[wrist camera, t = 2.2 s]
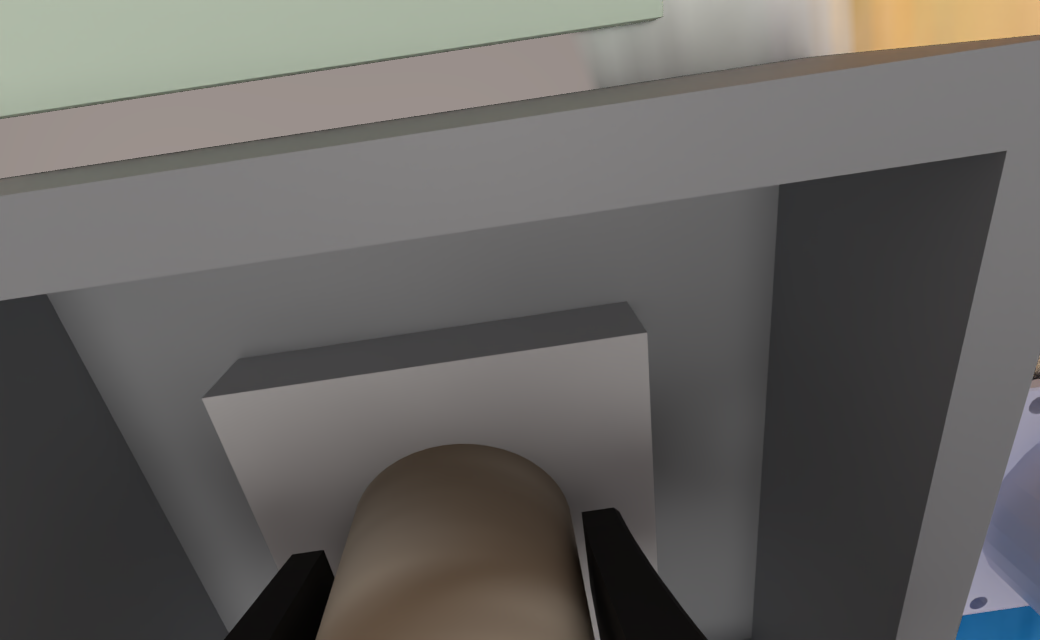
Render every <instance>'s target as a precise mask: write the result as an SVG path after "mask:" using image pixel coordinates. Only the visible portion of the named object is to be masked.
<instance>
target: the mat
mask: <svg viewBox="0 0 1040 640" xmlns="http://www.w3.org/2000/svg"><path fill="white" fill-rule="evenodd" d="M661 17H663V0H0V119H2V118H10V117H17V116H24V115H30V114H37V113H43V112H50V111H57V110H63V109H70V108H77V107H83V106H89V105H97V104H103V103H110V102H116V101H123V100H129V99H136V98H142V97H150V96H156V95H163V94H169V93H176V92H183V91H189V90H195V89H202V88H209V87H216V86H223V85H229V84H236V83H242V82H249V81H255V80H262V79H268V78H276V77H282V76H289V75H295V74H301V73H309V72H315V71H322V70H329V69H335V68H341V67H348V66H355V65H361V64H368V63H375V62H381V61H388V60H395V59H402V58H408V57H415V56H422V55H428V54H435V53H441V52H448V51H455V50H461V49H468V48H474V47H481V46H488V45H494V44H501V43H508V42H514V41H520V40H528V39H534V38H541V37H548V36H554V35H561V34H568V33H574V32H581V31H587V30H594V29H601V28H607V27H614V26H621V25H627V24H634V23H641V22H647V21H653V20H656V19H658V18H661Z"/></svg>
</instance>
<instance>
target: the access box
mask: <svg viewBox="0 0 1040 640" xmlns="http://www.w3.org/2000/svg"><path fill="white" fill-rule="evenodd" d="M1039 355H1040V35H1033V36H1022V37H1012V38H1002V39H991V40H981V41H970V42H960V43H950V44H939V45H929V46H919V47H908V48H898V49H887V50H877V51H867V52H856V53H846V54H835V55H825V56H815V57H807V58H800V59H794V60H787V61H780V62H774V63H767V64H760V65H754V66H747V67H740V68H734V69H727V70H720V71H714V72H707V73H700V74H694V75H687V76H680V77H674V78H667V79H661V80H654V81H647V82H641V83H634V84H627V85H621V86H614V87H607V88H601V89H594V90H588V91H581V92H574V93H567V94H561V95H554V96H547V97H541V98H534V99H527V100H521V101H515V102H508V103H501V104H494V105H488V106H481V107H474V108H467V109H461V110H454V111H447V112H441V113H435V114H428V115H421V116H414V117H408V118H401V119H394V120H388V121H381V122H374V123H369V124H361V125H354V126H348V127H341V128H334V129H328V130H321V131H314V132H308V133H301V134H295V135H288V136H281V137H274V138H268V139H261V140H254V141H248V142H242V143H234V144H228V145H221V146H214V147H208V148H201V149H195V150H188V151H181V152H175V153H168V154H161V155H154V156H148V157H141V158H135V159H128V160H121V161H115V162H108V163H102V164H95V165H88V166H81V167H75V168H68V169H62V170H55V171H48V172H41V173H35V174H29V175H21V176H15V177H9V178H2V179H0V640H224V639H225V638H226V636H227V635H228V634H229V633H230V631H231V630H232V629H233V628H234V626H235V625H236V624H237V623H238V621H239V620H240V619H241V618H242V616H243V615H244V614H245V613H246V611H247V610H248V609H249V608H250V606H251V605H252V604H253V603H254V601H255V600H256V599H257V598H258V596H259V595H260V594H261V593H262V591H263V590H264V589H265V588H266V586H267V585H268V584H269V583H270V581H271V580H272V579H273V578H274V576H275V575H276V574H277V573H278V571H279V570H280V569H281V568H282V566H283V565H284V564H285V563H286V561H287V560H288V559H289V558H290V557H291V555H292V554H298V553H305V552H312V551H319V550H324V552H325V554H326V557H327V559H328V562H329V564H330V567H331V570H332V572H333V575H334V577H335V576H336V572H337V569H338V566H339V563H340V560H341V556H342V553H343V550H344V547H345V544H346V540H347V537H348V534H349V531H350V528H351V524H352V521H353V518H354V515H355V512H356V509H357V505H358V503H359V501H360V499H361V497H362V494H363V493H364V492H365V490H366V489H367V487H368V486H369V484H370V483H371V482H372V481H373V480H374V479H375V478H376V477H377V476H378V475H379V474H380V473H381V472H382V471H384V470H385V469H386V468H387V467H388V466H390V465H392V464H393V463H395V462H396V461H398V460H400V459H402V458H404V457H406V456H408V455H410V454H413V453H415V452H418V451H421V450H424V449H428V448H432V447H437V446H442V445H451V444H477V445H485V446H491V447H496V448H500V449H504V450H507V451H510V452H512V453H515V454H518V455H520V456H522V457H524V458H526V459H528V460H530V461H531V462H533V463H534V464H536V465H537V466H539V467H540V468H542V469H543V470H544V471H545V472H546V473H547V474H548V475H549V476H551V478H552V479H553V480H554V481H555V482H556V483H557V485H558V486H559V487H560V489H561V491H562V492H563V494H564V496H565V498H566V500H567V503H568V505H569V509H570V514H571V518H572V524H573V529H574V534H575V539H576V544H577V549H578V555H579V560H580V565H581V570H582V575H583V580H584V586H585V591H586V596H587V601H588V606H589V612H590V617H591V622H592V627H593V632H594V637H595V640H600V636H599V631H598V626H597V620H596V615H595V610H594V604H593V599H592V594H591V588H590V580H589V571H588V563H587V554H586V546H585V537H584V529H583V520H582V512H585V511H592V510H599V509H606V508H613V507H614V508H615V509H617V510H618V511H620V513H621V516H622V518H623V519H624V521H625V523H626V525H627V527H628V529H629V530H630V532H631V534H632V535H633V537H634V539H635V540H636V542H637V544H638V545H639V547H640V548H641V550H642V551H643V553H644V554H645V556H646V557H647V559H648V560H649V562H650V563H651V565H652V566H653V568H654V569H655V571H656V572H657V574H658V575H659V576H660V578H661V579H662V581H663V582H664V583H665V585H666V586H667V587H668V589H669V590H670V592H671V593H672V594H673V596H674V597H675V598H676V600H677V601H678V602H679V604H680V605H681V606H682V608H683V609H684V610H685V612H686V613H687V614H688V615H689V617H690V618H691V619H692V621H693V622H694V623H695V624H696V626H697V627H698V628H699V629H700V631H701V632H702V633H703V634H704V635H705V637H706V638H707V639H708V640H955V639H956V635H957V632H958V628H959V625H960V622H961V618H962V615H963V612H964V608H965V605H966V601H967V598H968V595H969V591H970V588H971V585H972V581H973V578H974V574H975V571H976V568H977V564H978V561H979V558H980V554H981V551H982V547H983V544H984V541H985V537H986V534H987V531H988V527H989V524H990V520H991V517H992V514H993V510H994V507H995V504H996V500H997V497H998V494H999V490H1000V487H1001V483H1002V480H1003V477H1004V473H1005V470H1006V467H1007V463H1008V460H1009V456H1010V453H1011V450H1012V446H1013V443H1014V440H1015V436H1016V433H1017V429H1018V426H1019V423H1020V419H1021V416H1022V413H1023V409H1024V406H1025V402H1026V399H1027V396H1028V392H1029V389H1030V386H1031V382H1032V379H1033V375H1034V372H1035V369H1036V365H1037V362H1038V359H1039Z"/></svg>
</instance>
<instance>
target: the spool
mask: <svg viewBox="0 0 1040 640" xmlns="http://www.w3.org/2000/svg"><path fill="white" fill-rule="evenodd" d="M315 640H595V637H594V632H593V627H592V622H591V617H590V612H589V606H588V601H587V596H586V591H585V586H584V580H583V575H582V570H581V565H580V560H579V555H578V549H577V544H576V539H575V534H574V529H573V524H572V518H571V514H570V509H569V505H568V503H567V500H566V498H565V496H564V494H563V492H562V491H561V489H560V487H559V486H558V485H557V483H556V482H555V481H554V480H553V479H552V478H551V476H549V475H548V474H547V473H546V472H545V471H544V470H543V469H542V468H540V467H539V466H537V465H536V464H534V463H533V462H531V461H530V460H528V459H526V458H524V457H522V456H520V455H518V454H515V453H512V452H510V451H507V450H504V449H500V448H496V447H491V446H485V445H477V444H451V445H442V446H437V447H432V448H428V449H424V450H421V451H418V452H415V453H413V454H410V455H408V456H406V457H404V458H402V459H400V460H398V461H396V462H395V463H393V464H392V465H390V466H388V467H387V468H386V469H385V470H384V471H382V472H381V473H380V474H379V475H378V476H377V477H376V478H375V479H374V480H373V481H372V482H371V483H370V484H369V486H368V487H367V489H366V490H365V492H364V493H363V494H362V497H361V499H360V501H359V503H358V505H357V509H356V512H355V515H354V518H353V521H352V524H351V528H350V531H349V534H348V537H347V540H346V544H345V547H344V550H343V553H342V556H341V560H340V563H339V566H338V569H337V572H336V576H335V579H334V582H333V585H332V588H331V592H330V595H329V598H328V601H327V604H326V607H325V611H324V614H323V617H322V620H321V623H320V627H319V630H318V633H317V636H316V639H315Z"/></svg>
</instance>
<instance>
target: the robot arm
mask: <svg viewBox="0 0 1040 640" xmlns="http://www.w3.org/2000/svg"><path fill="white" fill-rule="evenodd" d="M582 520H583V529H584V537H585V546H586V554H587V563H588V571H589V580H590V588H591V594H592V599H593V604H594V610H595V615H596V620H597V626H598V631H599V636H600V640H708V639H707V638H706V637H705V635H704V634H703V633H702V632H701V631H700V629H699V628H698V627H697V626H696V624H695V623H694V622H693V621H692V619H691V618H690V617H689V615H688V614H687V613H686V612H685V610H684V609H683V608H682V606H681V605H680V604H679V602H678V601H677V600H676V598H675V597H674V596H673V594H672V593H671V592H670V590H669V589H668V587H667V586H666V585H665V583H664V582H663V581H662V579H661V578H660V576H659V575H658V574H657V572H656V571H655V569H654V568H653V566H652V565H651V563H650V562H649V560H648V559H647V557H646V556H645V554H644V553H643V551H642V550H641V548H640V547H639V545H638V544H637V542H636V540H635V539H634V537H633V535H632V534H631V532H630V530H629V529H628V527H627V525H626V523H625V521H624V519H623V518H622V516H621V513H620V511H618V510H617V509H615V508H614V507H613V508H606V509H599V510H592V511H585V512H582ZM334 579H335V577H334V575H333V572H332V570H331V567H330V564H329V562H328V559H327V557H326V554H325V552H324V550H319V551H312V552H305V553H298V554H292V555H291V557H290V558H289V559H288V560H287V561H286V563H285V564H284V565H283V566H282V568H281V569H280V570H279V571H278V573H277V574H276V575H275V576H274V578H273V579H272V580H271V581H270V583H269V584H268V585H267V586H266V588H265V589H264V590H263V591H262V593H261V594H260V595H259V596H258V598H257V599H256V600H255V601H254V603H253V604H252V605H251V606H250V608H249V609H248V610H247V611H246V613H245V614H244V615H243V616H242V618H241V619H240V620H239V621H238V623H237V624H236V625H235V626H234V628H233V629H232V630H231V631H230V633H229V634H228V635H227V636H226V638H225V639H224V640H315V639H316V636H317V633H318V630H319V627H320V623H321V620H322V617H323V614H324V611H325V607H326V604H327V601H328V598H329V595H330V592H331V588H332V585H333V582H334ZM1029 605H1030V606H1031V607H1032V608H1033V609H1034V610H1035V611H1036V612H1037V613H1038V614H1039V615H1040V379H1035V380H1032V382H1031V386H1030V389H1029V392H1028V396H1027V399H1026V402H1025V406H1024V409H1023V413H1022V416H1021V419H1020V423H1019V426H1018V429H1017V433H1016V436H1015V440H1014V443H1013V446H1012V450H1011V453H1010V456H1009V460H1008V463H1007V467H1006V470H1005V473H1004V477H1003V480H1002V483H1001V487H1000V490H999V494H998V497H997V500H996V504H995V507H994V510H993V514H992V517H991V520H990V524H989V527H988V531H987V534H986V537H985V541H984V544H983V547H982V551H981V554H980V558H979V561H978V564H977V568H976V571H975V574H974V578H973V581H972V585H971V588H970V591H969V595H968V598H967V601H966V605H965V608H964V612H963V615H967V614H974V613H981V612H988V611H995V610H1002V609H1009V608H1016V607H1023V606H1029Z"/></svg>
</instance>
